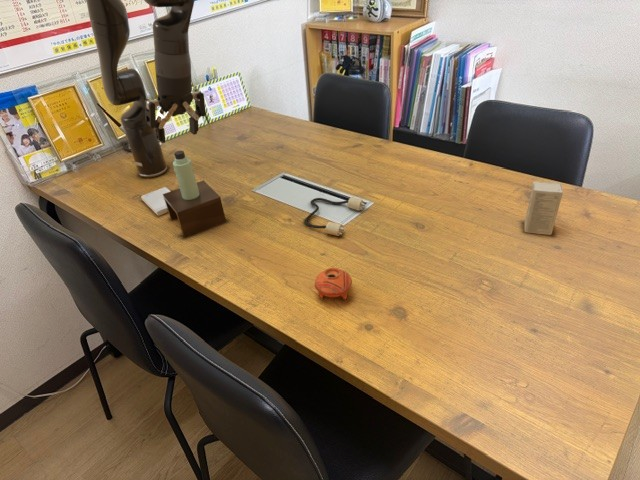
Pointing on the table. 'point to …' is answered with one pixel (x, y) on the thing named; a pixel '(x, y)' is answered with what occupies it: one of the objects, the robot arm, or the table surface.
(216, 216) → the stand
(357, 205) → the cable
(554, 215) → the cosmetic box
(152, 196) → the hard drive
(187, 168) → the bottle
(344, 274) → the pot
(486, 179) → the table surface
